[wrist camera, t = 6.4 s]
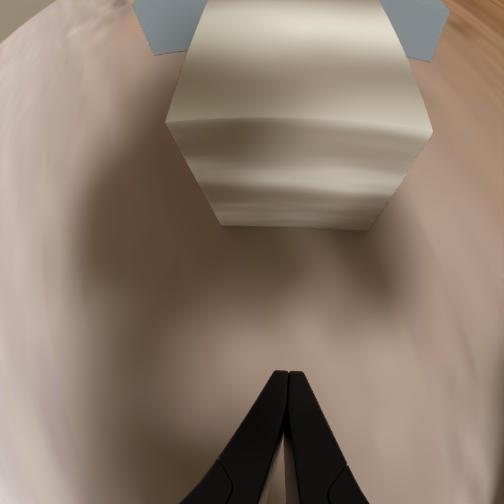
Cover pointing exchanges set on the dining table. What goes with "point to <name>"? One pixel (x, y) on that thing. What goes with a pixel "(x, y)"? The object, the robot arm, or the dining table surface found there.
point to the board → (193, 3)
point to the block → (297, 112)
